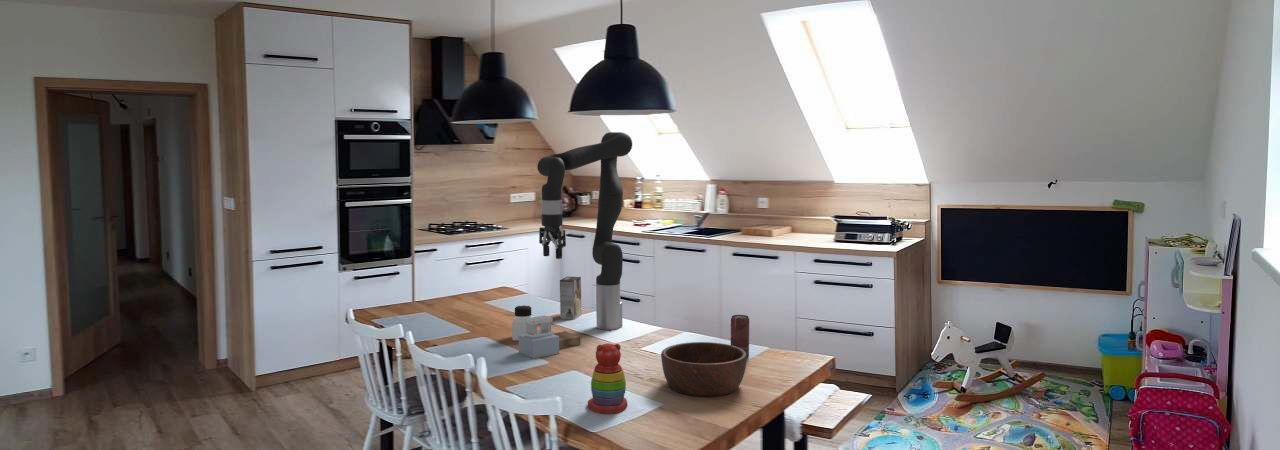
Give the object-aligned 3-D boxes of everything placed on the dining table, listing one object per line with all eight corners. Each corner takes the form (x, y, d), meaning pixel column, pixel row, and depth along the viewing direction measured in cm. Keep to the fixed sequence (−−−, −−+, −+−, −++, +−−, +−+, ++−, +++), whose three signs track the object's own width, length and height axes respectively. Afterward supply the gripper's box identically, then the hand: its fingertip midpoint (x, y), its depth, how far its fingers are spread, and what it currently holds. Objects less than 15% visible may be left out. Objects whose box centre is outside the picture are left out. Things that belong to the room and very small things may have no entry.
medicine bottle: (531, 340, 283) (531, 308, 282) (512, 340, 284) (511, 308, 282) (534, 335, 291) (534, 304, 289) (515, 335, 291) (515, 304, 289)
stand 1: (543, 347, 274) (543, 330, 273) (559, 353, 266) (559, 336, 265) (518, 352, 268) (518, 335, 267) (533, 358, 260) (533, 340, 259)
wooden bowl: (693, 369, 247) (693, 337, 246) (762, 384, 232) (763, 350, 231) (643, 388, 228) (643, 354, 227) (715, 406, 212) (715, 369, 211)
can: (727, 358, 259) (727, 317, 257) (734, 354, 264) (734, 313, 263) (744, 361, 256) (745, 319, 254) (751, 356, 262) (751, 315, 260)
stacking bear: (625, 401, 217) (625, 338, 215) (631, 413, 207) (630, 347, 205) (586, 403, 215) (586, 339, 214) (590, 415, 206) (589, 349, 204)
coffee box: (567, 314, 327) (566, 276, 326) (581, 314, 326) (581, 276, 324) (559, 318, 318) (559, 279, 317) (574, 319, 317) (574, 280, 315)
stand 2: (565, 339, 285) (565, 331, 285) (580, 344, 277) (580, 336, 277) (541, 343, 279) (541, 335, 279) (556, 349, 271) (556, 341, 271)
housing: (545, 332, 271) (544, 315, 270) (552, 335, 267) (552, 317, 266) (524, 336, 266) (524, 318, 265) (532, 338, 262) (532, 321, 261)
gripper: (571, 213, 278) (572, 258, 279) (550, 210, 289) (551, 254, 290) (553, 214, 273) (554, 260, 275) (532, 211, 284) (533, 256, 286)
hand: (552, 257), depth 282 cm, fingers open, 8 cm apart
